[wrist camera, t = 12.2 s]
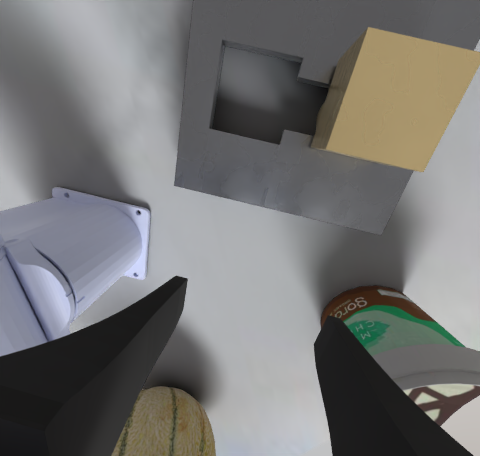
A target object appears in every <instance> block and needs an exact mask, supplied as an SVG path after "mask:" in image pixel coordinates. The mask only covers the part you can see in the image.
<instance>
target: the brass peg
mask: <svg viewBox="0 0 480 456" xmlns="http://www.w3.org/2000/svg"><path fill="white" fill-rule="evenodd" d="M479 65H480V52H477V51H472V50H468V49H463V48H459V47H455V46H450V45H446V44H441V43H437V42H433V41H428V40H424V39H419V38H415V37H410V36H406V35H402V34H397V33H393V32H388V31H384V30H379V29H375V28H371V27H368V28H367V29H366V30H365V31H364V32H363V34H362V35H361V36H360V37H359V38H358V39H357V40H356V41H355V42H354V44H353V45H352V46H351V47H350V48H349V49H348V50H347V51H346V52H345V54H344V55H343V56H342V57H341V58H340V59H339V60H338V63H337V66H336V69H335V73H334V76H333V79H332V82H331V85H330V88H329V91H328V94H327V98H326V101H325V102H324V103H323V105H322V106H321V108H320V110H319V112H318V115H317V119H316V132H315V135H314V138H313V141H312V144H311V148H316V149H320V150H324V151H328V152H333V153H337V154H341V155H345V156H349V157H354V158H358V159H362V160H366V161H370V162H375V163H379V164H383V165H388V166H393V167H399V168H404V169H409V170H414V171H419V172H424V170H425V168H426V166H427V164H428V162H429V160H430V158H431V156H432V155H433V153H434V151H435V149H436V147H437V145H438V143H439V141H440V139H441V137H442V136H443V134H444V132H445V130H446V128H447V126H448V124H449V122H450V120H451V118H452V116H453V115H454V113H455V111H456V109H457V107H458V105H459V103H460V101H461V99H462V97H463V95H464V94H465V92H466V90H467V88H468V86H469V84H470V82H471V80H472V78H473V76H474V75H475V73H476V71H477V69H478V67H479Z"/></svg>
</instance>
